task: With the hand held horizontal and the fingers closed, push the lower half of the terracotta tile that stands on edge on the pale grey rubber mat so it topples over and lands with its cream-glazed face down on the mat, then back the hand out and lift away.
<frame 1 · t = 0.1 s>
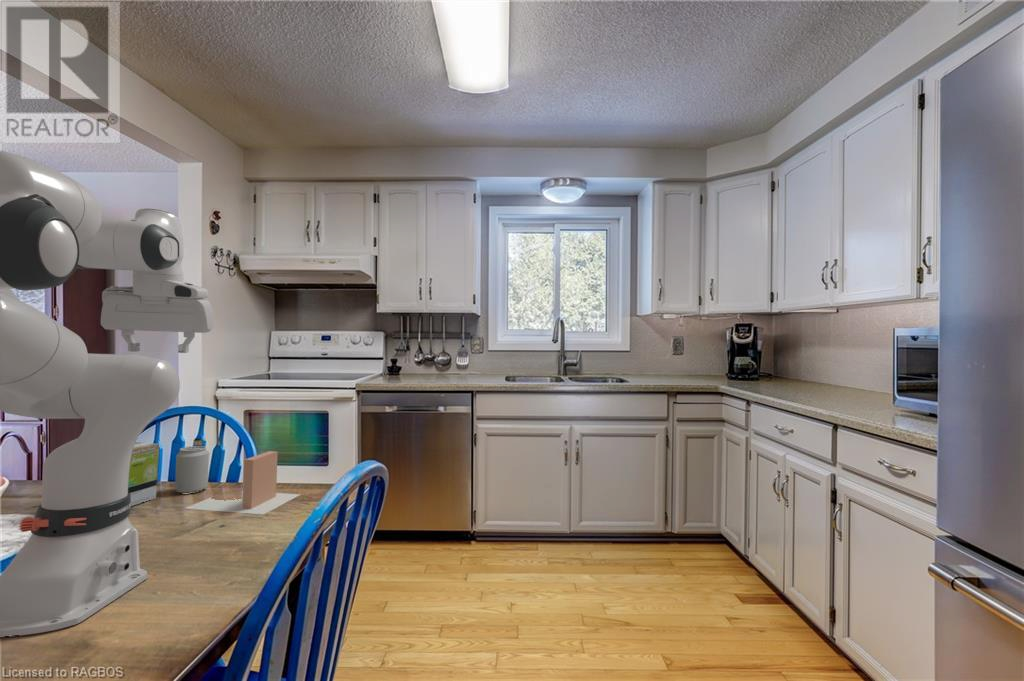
hand: (159, 352, 105), 39 cm above the table, tool pointing down, fingers open, 8 cm apart
tea box: (113, 507, 120), on the table
can: (191, 491, 133), on the table
tile: (259, 502, 124), resting on mat
mat: (245, 502, 125), on the table
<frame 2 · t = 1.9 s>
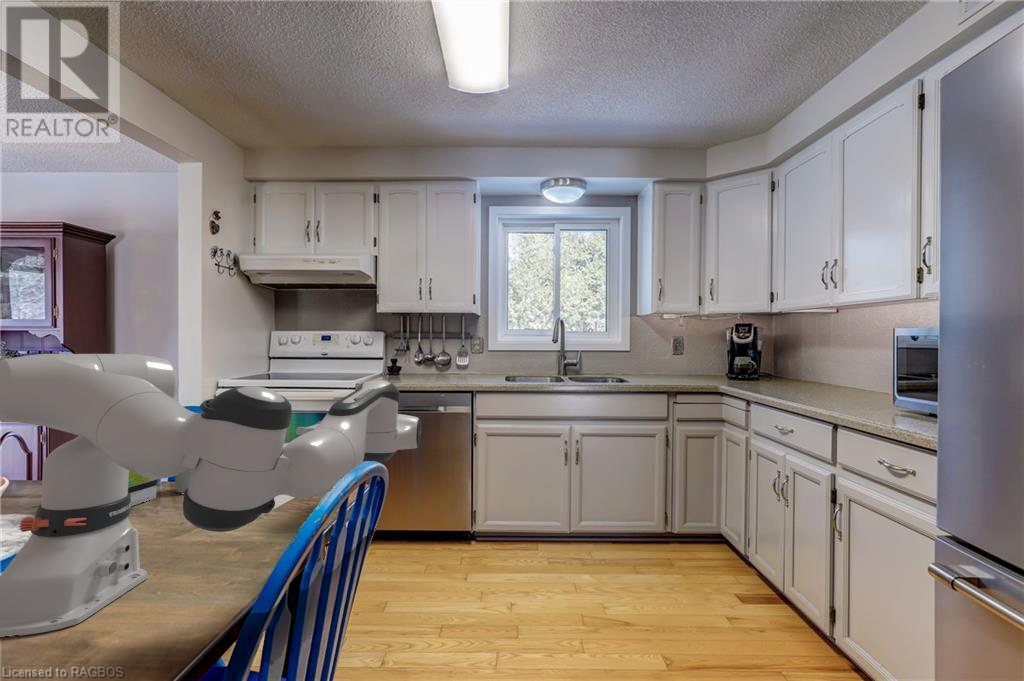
hand: (307, 427, 123), 20 cm above the table, tool horizontal, fingers open, 8 cm apart
nothing on the table moved.
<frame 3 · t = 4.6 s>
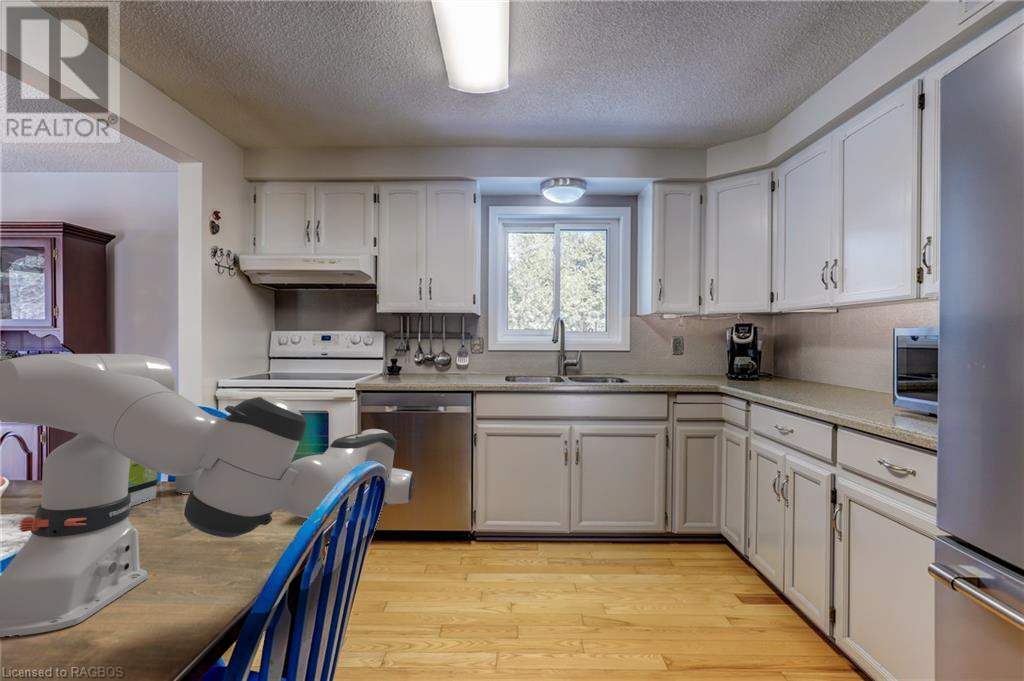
hand: (300, 480, 123), 7 cm above the table, tool horizontal, fingers closed
nothing on the table moved.
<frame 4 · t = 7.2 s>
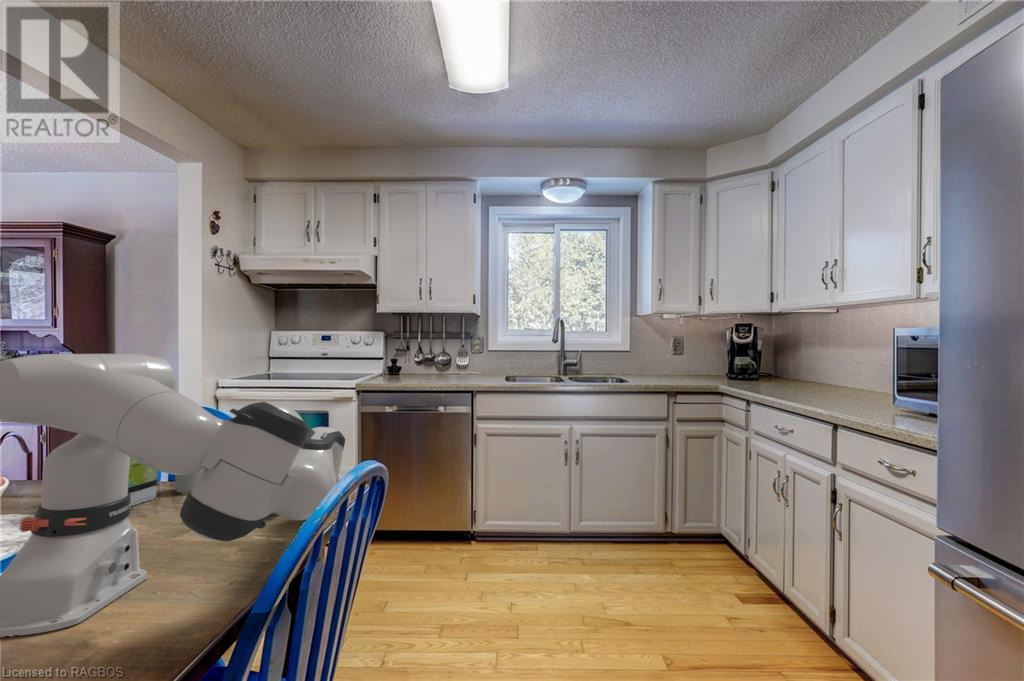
hand: (253, 476, 125), 7 cm above the table, tool horizontal, fingers closed
tile: (254, 496, 125), point 2 cm above the table, tilted 90°, touching mat
everything else where it was.
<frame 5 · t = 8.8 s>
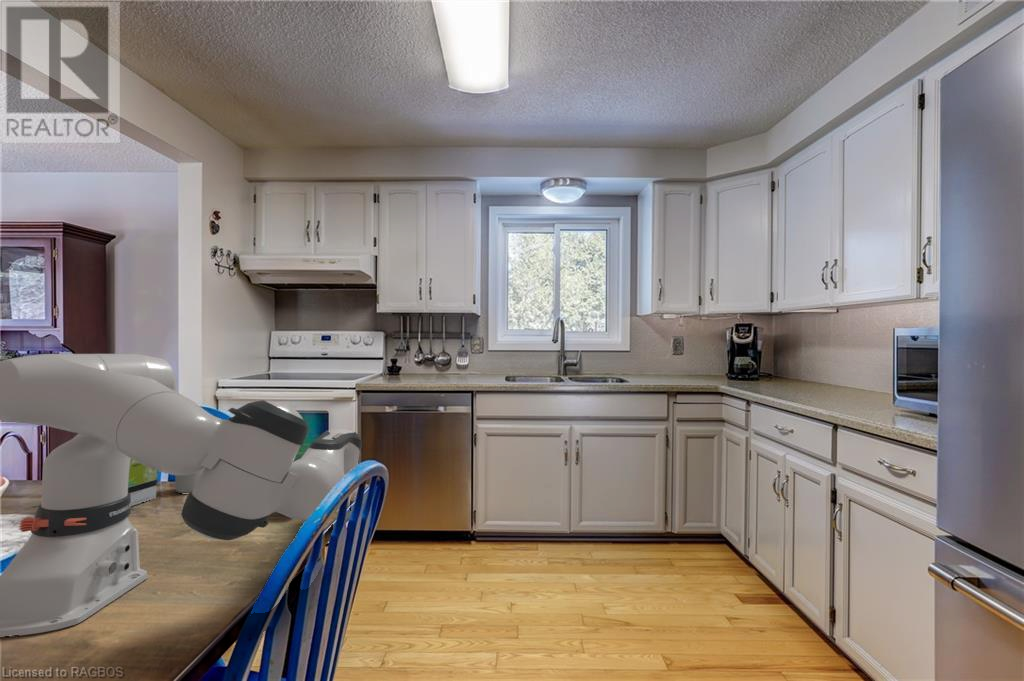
hand: (269, 479, 125), 6 cm above the table, tool horizontal, fingers closed
nothing on the table moved.
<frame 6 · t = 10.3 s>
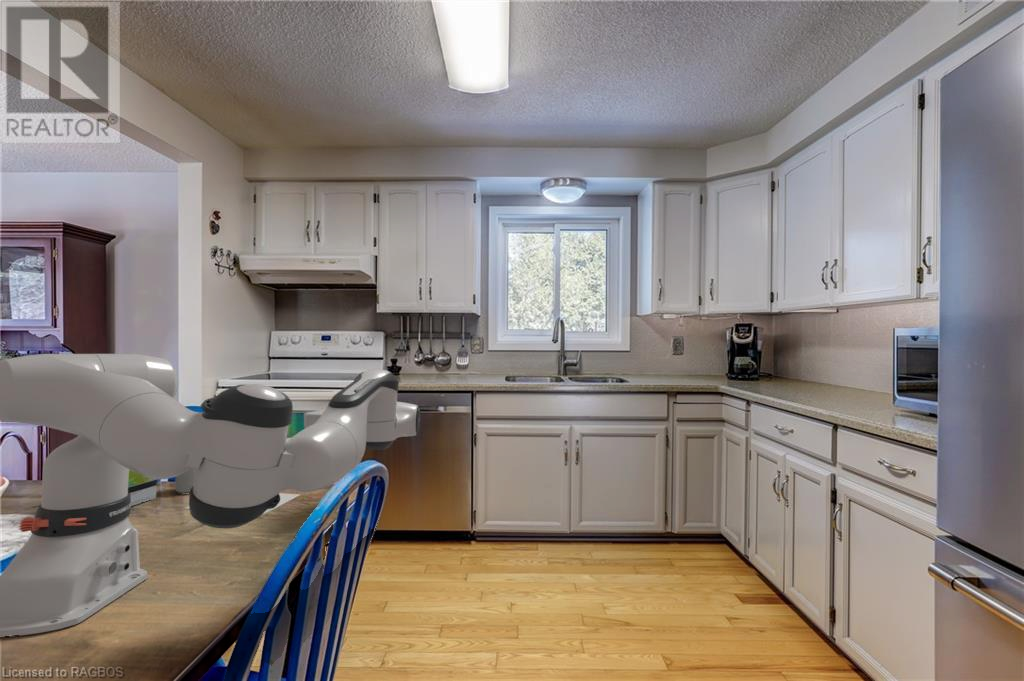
hand: (306, 414, 124), 23 cm above the table, tool horizontal, fingers closed
nothing on the table moved.
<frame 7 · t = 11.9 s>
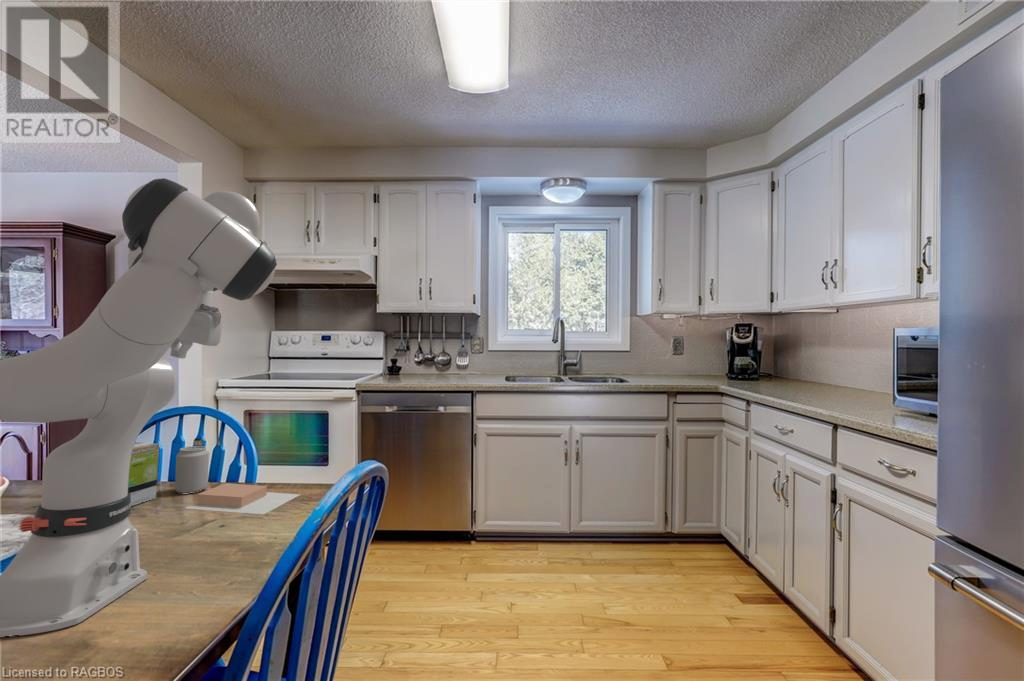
hand: (177, 357, 117), 37 cm above the table, tool pointing down, fingers closed
nothing on the table moved.
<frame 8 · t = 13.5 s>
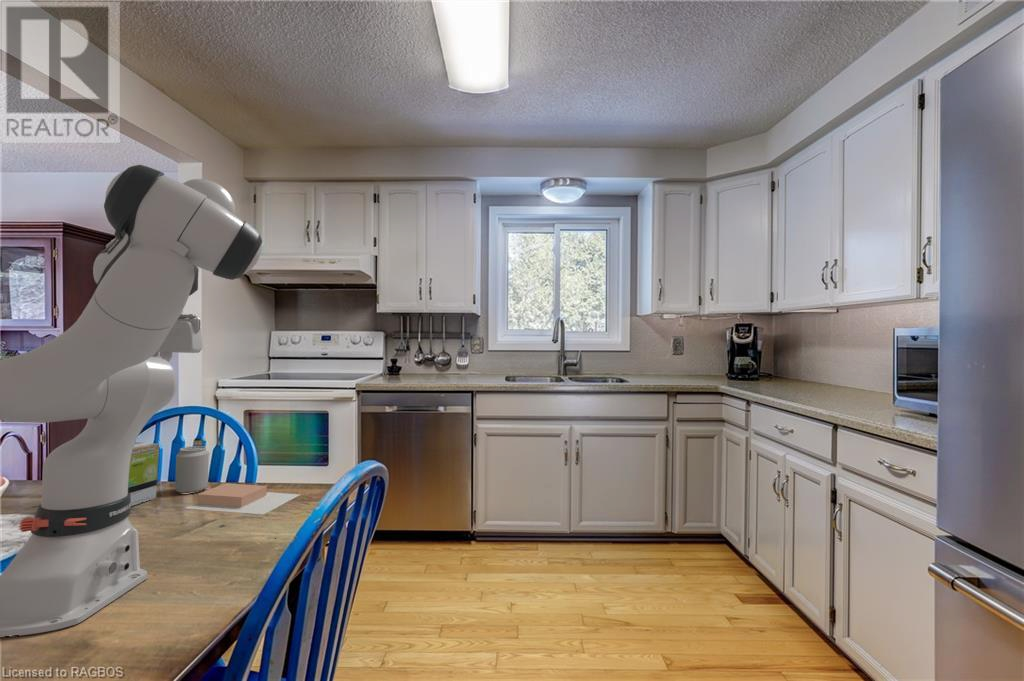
hand: (158, 371, 115), 34 cm above the table, tool pointing down, fingers closed
nothing on the table moved.
at the end: tile tilted 90°; tile 2.5 cm from the mat (horizontally); tile point 1.8 cm above the table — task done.
